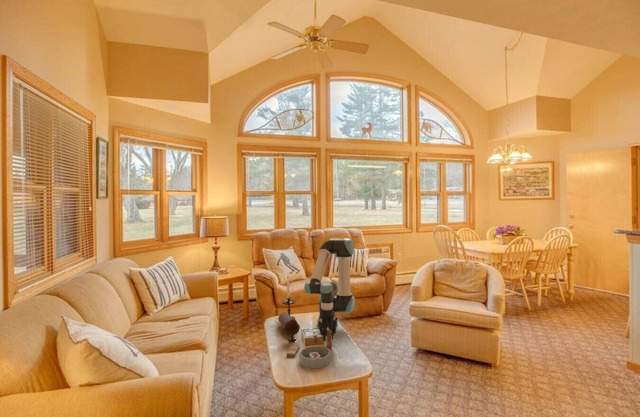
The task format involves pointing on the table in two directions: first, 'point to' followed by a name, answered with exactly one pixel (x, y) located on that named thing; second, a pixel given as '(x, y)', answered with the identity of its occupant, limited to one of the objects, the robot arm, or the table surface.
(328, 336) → the wick slat
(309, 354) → the grey pet bowl
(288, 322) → the ice cream bowl
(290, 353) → the slat
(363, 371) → the table surface
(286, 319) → the bluetooth speaker
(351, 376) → the table surface
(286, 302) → the candlestick
